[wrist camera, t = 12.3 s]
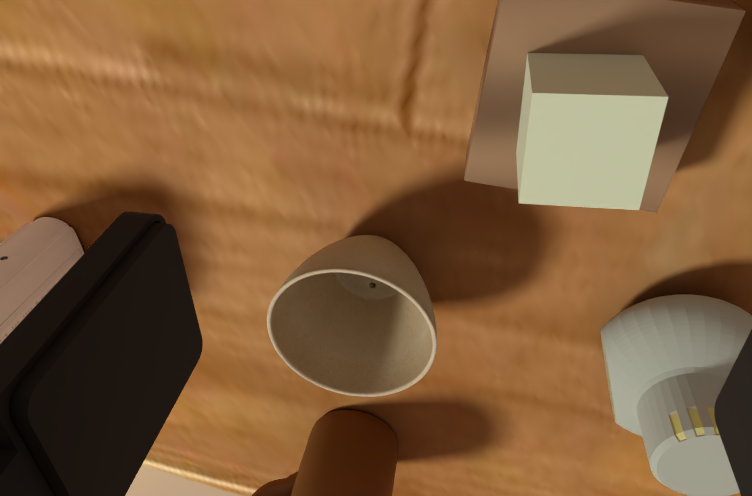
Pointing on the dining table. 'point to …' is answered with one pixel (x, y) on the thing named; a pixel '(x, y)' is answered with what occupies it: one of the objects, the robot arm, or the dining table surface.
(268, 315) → the flower pot
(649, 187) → the brown flat block
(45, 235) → the photo printer
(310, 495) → the mug
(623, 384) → the air freshener
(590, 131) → the sage cube
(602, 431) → the dining table surface
